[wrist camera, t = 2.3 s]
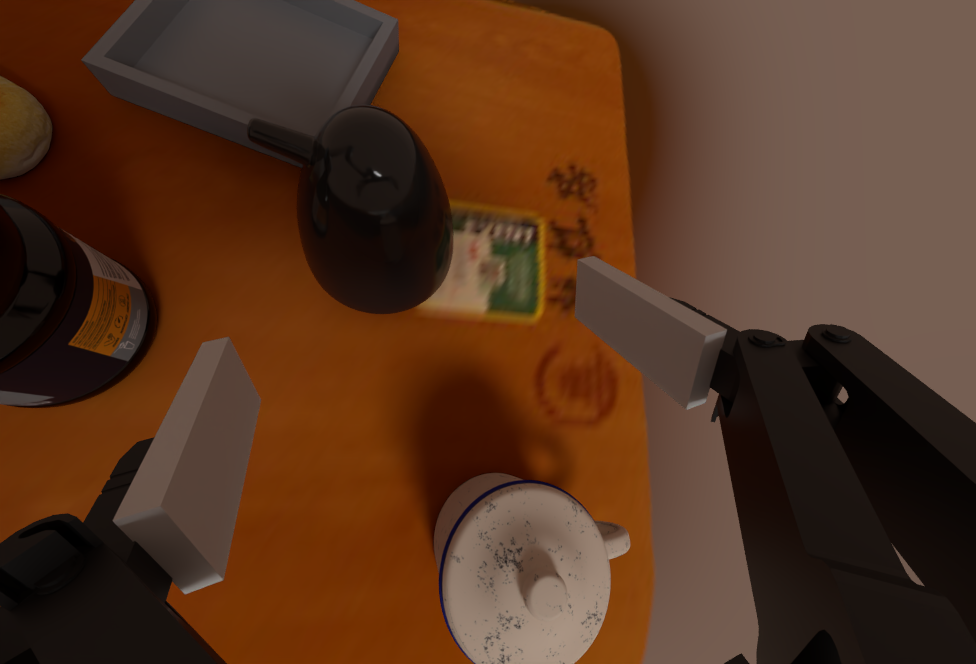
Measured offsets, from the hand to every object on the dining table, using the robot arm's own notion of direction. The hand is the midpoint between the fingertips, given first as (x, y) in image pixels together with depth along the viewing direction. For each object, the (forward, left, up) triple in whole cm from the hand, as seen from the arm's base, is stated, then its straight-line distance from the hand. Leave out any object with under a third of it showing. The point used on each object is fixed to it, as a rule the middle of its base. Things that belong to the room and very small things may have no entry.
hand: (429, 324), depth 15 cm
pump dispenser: (-6, +8, -16) cm, 19 cm away
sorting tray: (-22, +22, -16) cm, 35 cm away
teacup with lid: (+10, -8, -16) cm, 21 cm away
